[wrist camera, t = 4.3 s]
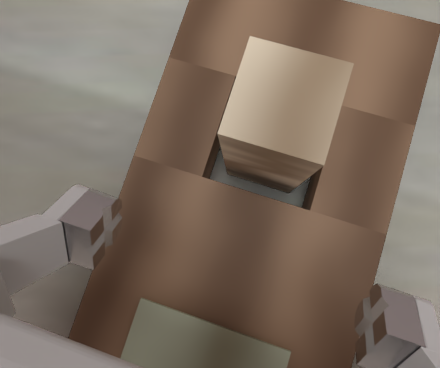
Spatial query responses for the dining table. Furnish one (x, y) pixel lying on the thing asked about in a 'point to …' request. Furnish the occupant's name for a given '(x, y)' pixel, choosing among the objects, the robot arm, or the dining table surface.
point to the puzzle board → (257, 200)
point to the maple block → (281, 114)
